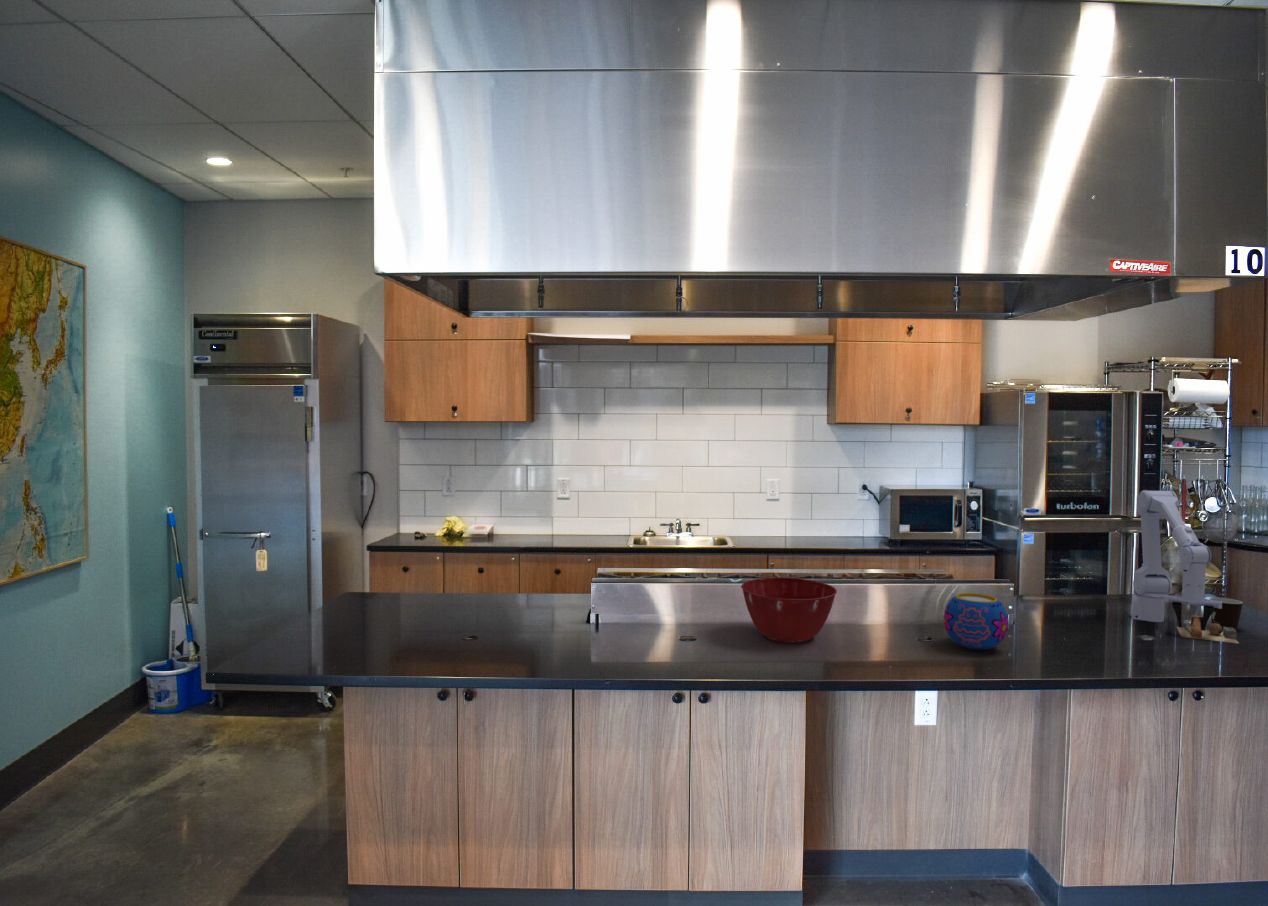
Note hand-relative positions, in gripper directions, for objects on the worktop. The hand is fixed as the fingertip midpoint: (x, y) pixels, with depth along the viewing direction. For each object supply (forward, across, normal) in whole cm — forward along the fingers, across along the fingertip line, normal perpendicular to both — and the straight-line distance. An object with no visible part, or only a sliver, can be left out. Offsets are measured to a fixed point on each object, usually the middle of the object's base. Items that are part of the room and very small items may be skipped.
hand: (1191, 628), depth 251 cm
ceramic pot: (+4, -54, -48) cm, 72 cm away
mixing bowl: (+3, -103, -70) cm, 125 cm away
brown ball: (0, +5, +6) cm, 8 cm away
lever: (+2, +1, +5) cm, 6 cm away
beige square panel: (+4, +4, +5) cm, 8 cm away
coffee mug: (+4, +9, +20) cm, 22 cm away
